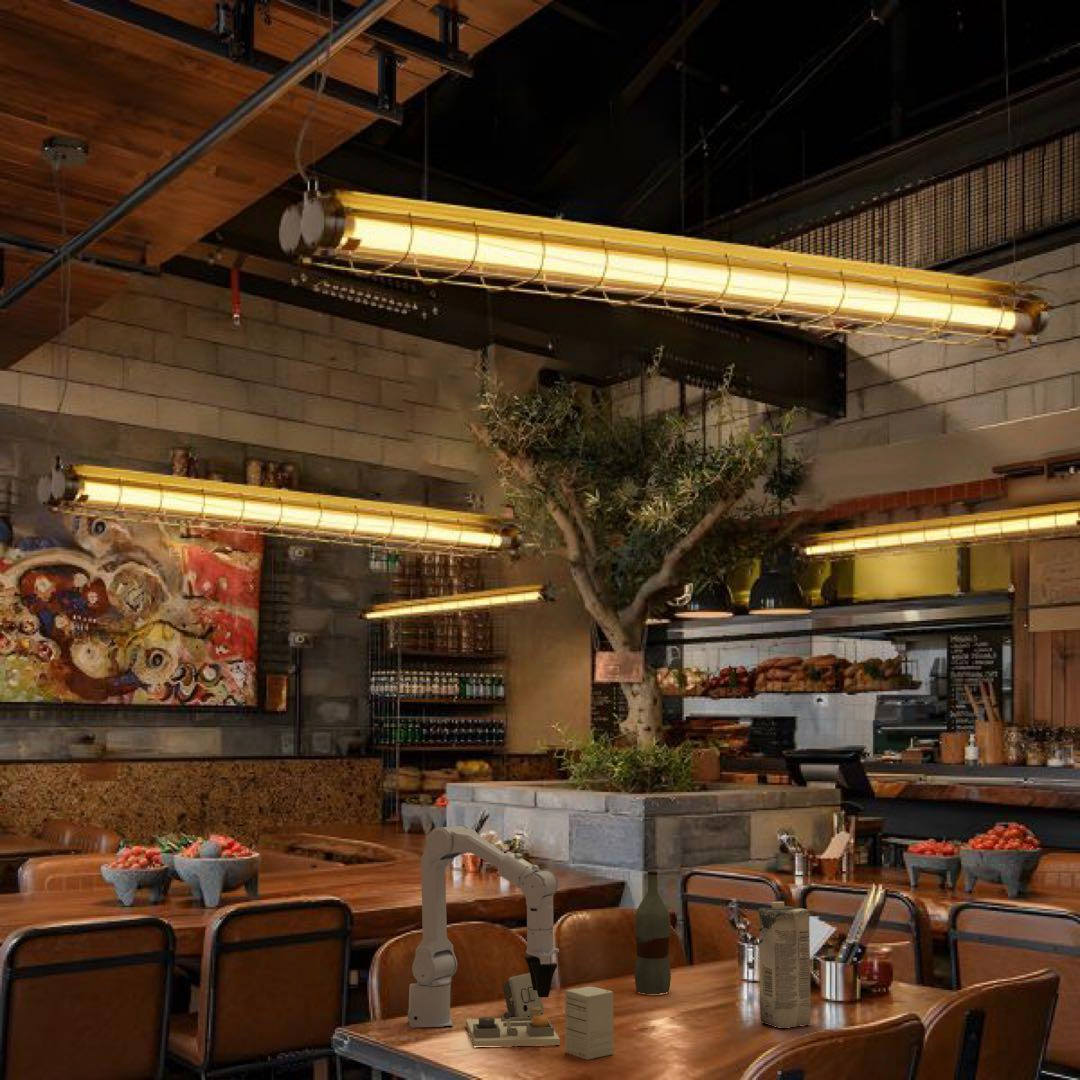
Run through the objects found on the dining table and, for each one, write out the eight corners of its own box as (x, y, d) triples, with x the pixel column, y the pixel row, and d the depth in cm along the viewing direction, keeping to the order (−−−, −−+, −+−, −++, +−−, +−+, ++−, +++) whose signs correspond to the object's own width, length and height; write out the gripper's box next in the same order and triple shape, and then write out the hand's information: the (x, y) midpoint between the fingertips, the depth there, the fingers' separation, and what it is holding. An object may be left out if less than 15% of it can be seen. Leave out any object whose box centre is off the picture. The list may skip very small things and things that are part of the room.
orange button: (533, 1027, 286) (533, 1019, 286) (531, 1023, 289) (531, 1015, 289) (549, 1026, 286) (549, 1019, 287) (546, 1023, 290) (546, 1015, 290)
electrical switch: (519, 1020, 307) (516, 977, 308) (501, 1019, 310) (499, 977, 312) (544, 1013, 314) (542, 972, 316) (527, 1012, 317) (525, 971, 319)
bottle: (629, 989, 342) (629, 868, 346) (663, 988, 344) (663, 868, 348) (641, 997, 333) (641, 873, 337) (676, 995, 335) (675, 872, 339)
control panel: (474, 1048, 280) (474, 1032, 281) (466, 1026, 300) (466, 1011, 300) (559, 1046, 283) (559, 1030, 283) (545, 1024, 303) (545, 1009, 303)
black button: (479, 1028, 284) (479, 1020, 284) (477, 1024, 288) (478, 1017, 288) (495, 1028, 285) (495, 1020, 285) (493, 1024, 288) (493, 1016, 288)
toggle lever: (507, 1034, 286) (503, 1013, 286) (506, 1032, 287) (502, 1011, 288) (514, 1032, 286) (510, 1011, 287) (513, 1030, 288) (509, 1009, 288)
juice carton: (816, 1026, 303) (814, 903, 307) (780, 1031, 298) (779, 906, 301) (790, 1018, 311) (788, 898, 314) (754, 1023, 305) (753, 901, 309)
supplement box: (591, 1047, 282) (591, 985, 284) (614, 1054, 276) (614, 991, 278) (563, 1053, 277) (564, 989, 279) (587, 1060, 272) (587, 995, 273)
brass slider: (532, 1023, 296) (532, 1009, 296) (530, 1020, 299) (530, 1006, 299) (541, 1022, 296) (541, 1009, 297) (539, 1019, 299) (539, 1006, 300)
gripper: (564, 932, 284) (564, 999, 282) (553, 923, 298) (553, 986, 297) (530, 933, 283) (531, 1000, 281) (521, 924, 297) (522, 987, 296)
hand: (540, 993), depth 289 cm, fingers open, 7 cm apart
